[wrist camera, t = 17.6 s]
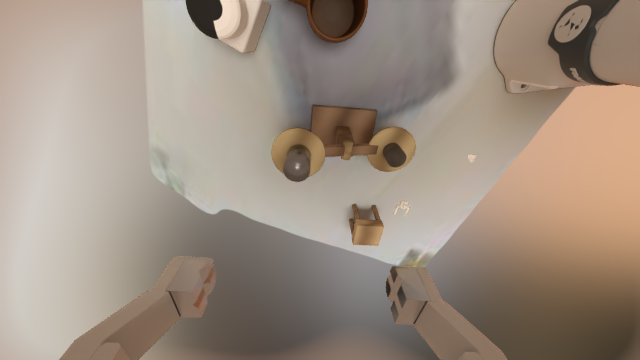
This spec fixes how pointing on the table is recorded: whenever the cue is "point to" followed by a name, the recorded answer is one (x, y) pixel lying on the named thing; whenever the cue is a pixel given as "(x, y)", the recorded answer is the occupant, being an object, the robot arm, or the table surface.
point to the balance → (347, 139)
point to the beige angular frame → (471, 159)
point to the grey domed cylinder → (297, 163)
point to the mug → (335, 17)
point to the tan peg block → (366, 229)
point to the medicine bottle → (230, 20)
